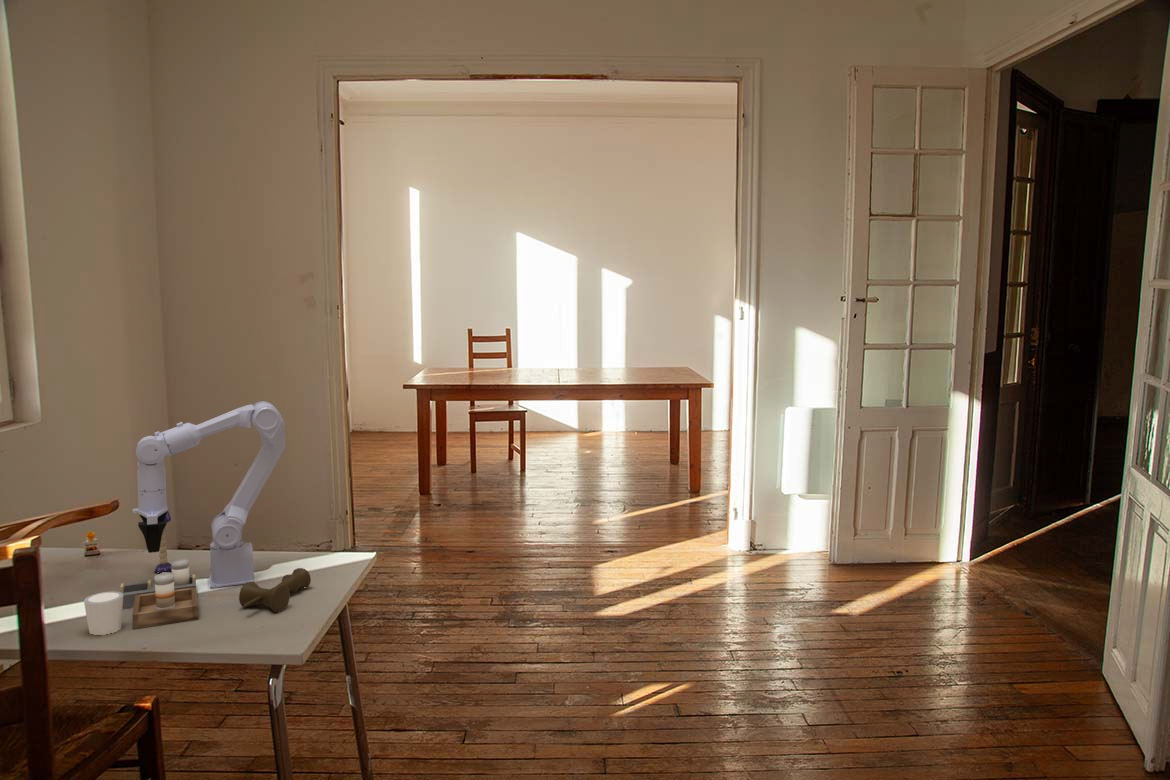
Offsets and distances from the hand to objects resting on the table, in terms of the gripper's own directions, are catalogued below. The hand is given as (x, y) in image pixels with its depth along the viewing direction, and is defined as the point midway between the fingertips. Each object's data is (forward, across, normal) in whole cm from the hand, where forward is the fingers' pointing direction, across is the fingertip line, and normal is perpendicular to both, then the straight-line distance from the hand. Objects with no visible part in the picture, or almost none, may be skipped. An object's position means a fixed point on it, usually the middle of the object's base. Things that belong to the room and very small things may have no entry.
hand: (154, 547), depth 184 cm
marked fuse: (+10, +16, +2) cm, 19 cm away
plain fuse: (+10, +5, +5) cm, 13 cm away
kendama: (+11, +18, +24) cm, 32 cm away
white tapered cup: (+11, +20, -9) cm, 24 cm away
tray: (+10, +16, +2) cm, 19 cm away
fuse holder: (+10, +5, +1) cm, 12 cm away
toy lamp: (+11, -14, +1) cm, 18 cm away
